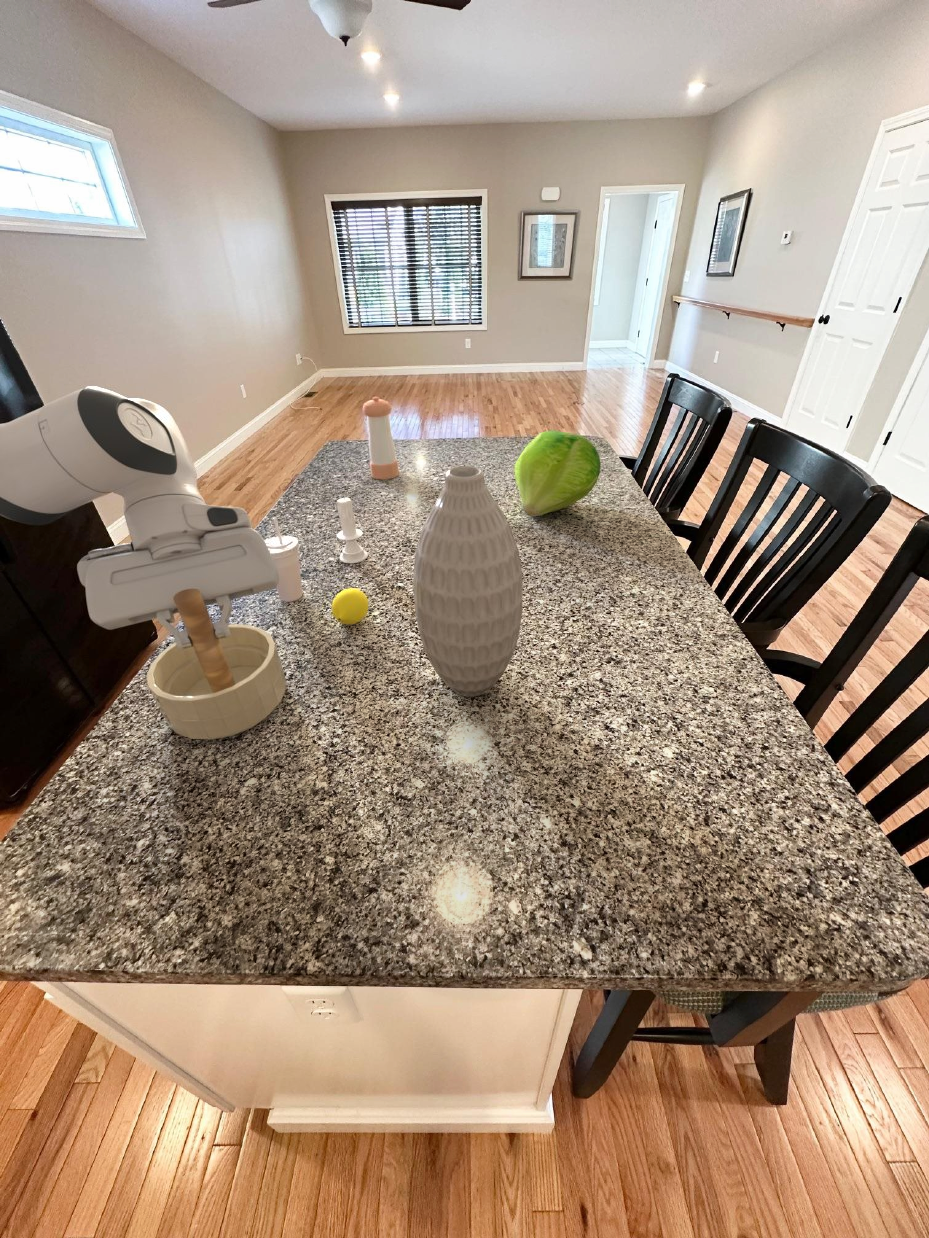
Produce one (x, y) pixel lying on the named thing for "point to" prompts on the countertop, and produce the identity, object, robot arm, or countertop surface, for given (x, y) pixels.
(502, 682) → the countertop surface
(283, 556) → the smoothie
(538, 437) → the lettuce
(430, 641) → the vase
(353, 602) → the lemon
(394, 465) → the pepper shaker
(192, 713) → the bowl
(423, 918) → the countertop surface
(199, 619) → the stick
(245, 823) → the countertop surface
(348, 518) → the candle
